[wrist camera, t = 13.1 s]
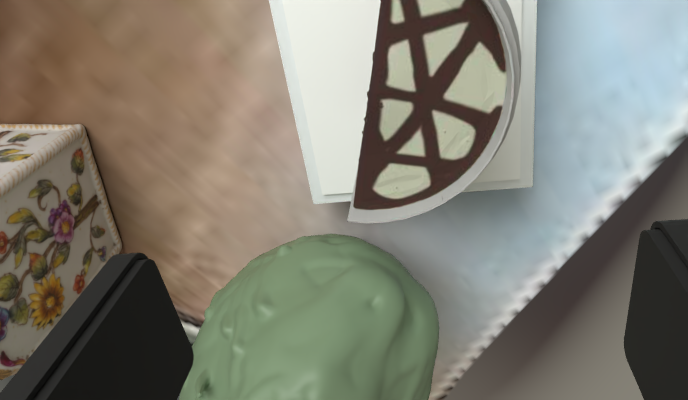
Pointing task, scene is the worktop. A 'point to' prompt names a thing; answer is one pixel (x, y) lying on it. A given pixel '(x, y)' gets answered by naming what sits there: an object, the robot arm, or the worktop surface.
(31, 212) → the decorative jar
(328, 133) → the base
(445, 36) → the food container
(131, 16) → the worktop surface
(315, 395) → the cabbage
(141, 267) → the robot arm
